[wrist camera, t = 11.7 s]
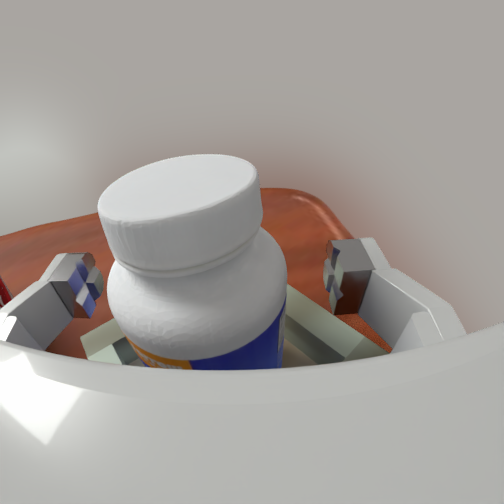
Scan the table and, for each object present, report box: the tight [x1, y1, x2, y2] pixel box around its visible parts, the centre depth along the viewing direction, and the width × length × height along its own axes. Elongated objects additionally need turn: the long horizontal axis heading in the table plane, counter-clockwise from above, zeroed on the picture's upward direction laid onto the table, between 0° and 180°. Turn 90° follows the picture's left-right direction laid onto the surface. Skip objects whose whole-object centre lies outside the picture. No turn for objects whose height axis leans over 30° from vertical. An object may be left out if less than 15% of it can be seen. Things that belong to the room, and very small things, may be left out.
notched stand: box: [80, 284, 390, 368], centre depth 13 cm, size 11×11×6 cm
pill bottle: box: [98, 154, 287, 370], centre depth 9 cm, size 5×5×10 cm
